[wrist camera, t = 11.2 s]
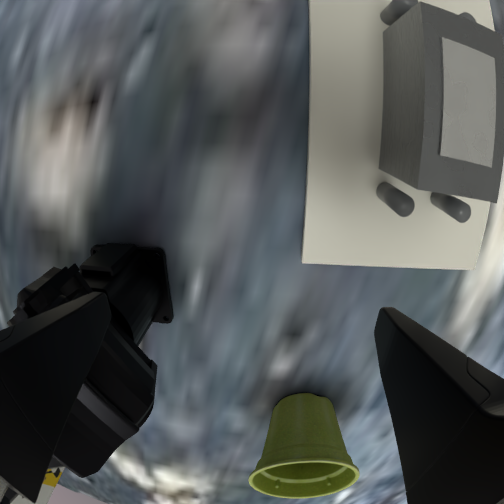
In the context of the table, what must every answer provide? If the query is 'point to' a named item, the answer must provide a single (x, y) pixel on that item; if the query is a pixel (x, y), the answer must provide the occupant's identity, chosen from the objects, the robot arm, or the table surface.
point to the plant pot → (303, 451)
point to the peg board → (373, 152)
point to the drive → (443, 104)
